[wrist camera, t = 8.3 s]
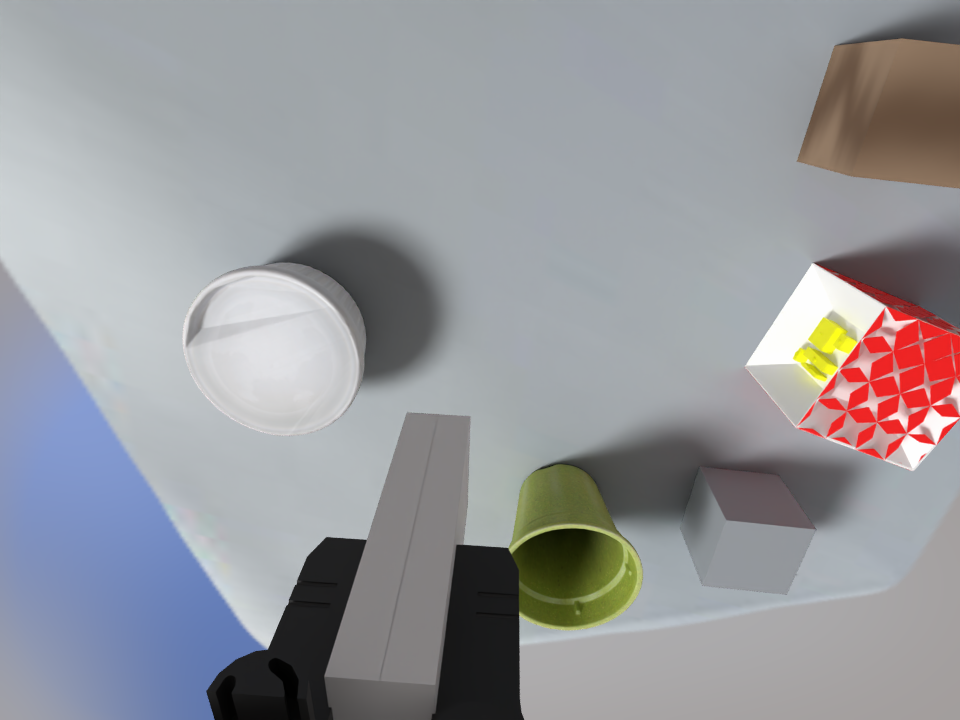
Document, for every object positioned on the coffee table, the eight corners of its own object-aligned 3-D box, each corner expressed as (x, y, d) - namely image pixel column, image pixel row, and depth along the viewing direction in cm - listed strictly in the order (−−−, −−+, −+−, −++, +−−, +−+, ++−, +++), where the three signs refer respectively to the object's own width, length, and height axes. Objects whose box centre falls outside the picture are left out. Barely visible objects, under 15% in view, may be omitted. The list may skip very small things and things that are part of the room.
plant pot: (641, 468, 44) (670, 552, 36) (587, 554, 48) (602, 646, 40) (528, 427, 43) (532, 505, 35) (482, 519, 47) (476, 607, 39)
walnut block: (833, 45, 31) (901, 38, 26) (943, 58, 31) (1033, 53, 26) (796, 161, 34) (850, 176, 29) (897, 172, 34) (970, 189, 29)
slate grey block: (699, 465, 44) (726, 520, 38) (778, 474, 44) (816, 529, 38) (679, 526, 46) (702, 585, 41) (754, 534, 46) (786, 594, 41)
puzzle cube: (812, 262, 37) (886, 305, 29) (917, 305, 37) (1014, 357, 30) (743, 367, 40) (794, 429, 33) (841, 404, 41) (912, 472, 34)
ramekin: (276, 211, 37) (241, 230, 32) (412, 322, 40) (399, 355, 35) (189, 330, 41) (147, 363, 36) (319, 423, 43) (295, 465, 39)
